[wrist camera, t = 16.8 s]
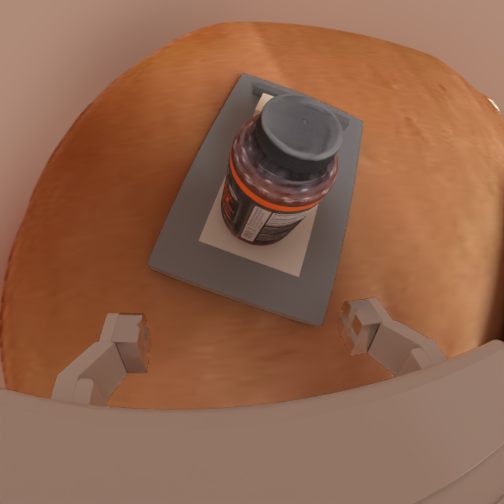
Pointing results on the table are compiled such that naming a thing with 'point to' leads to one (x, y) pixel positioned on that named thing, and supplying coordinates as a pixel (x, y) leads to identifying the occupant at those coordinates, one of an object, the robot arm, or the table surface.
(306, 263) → the breaker board
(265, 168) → the supplement bottle
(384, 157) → the table surface
